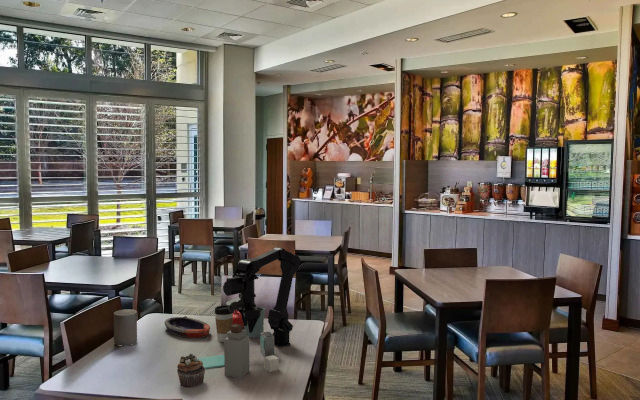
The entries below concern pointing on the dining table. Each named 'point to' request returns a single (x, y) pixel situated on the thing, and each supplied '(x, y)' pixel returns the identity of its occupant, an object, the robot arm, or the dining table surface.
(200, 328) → the inflatable boat
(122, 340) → the pillar candle
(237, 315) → the pomegranate
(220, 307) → the coffee cup
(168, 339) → the dining table surface
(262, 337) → the napkin dispenser
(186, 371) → the cupcake
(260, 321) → the drinking glass
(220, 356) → the teal tile
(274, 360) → the grey block
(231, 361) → the perfume bottle
